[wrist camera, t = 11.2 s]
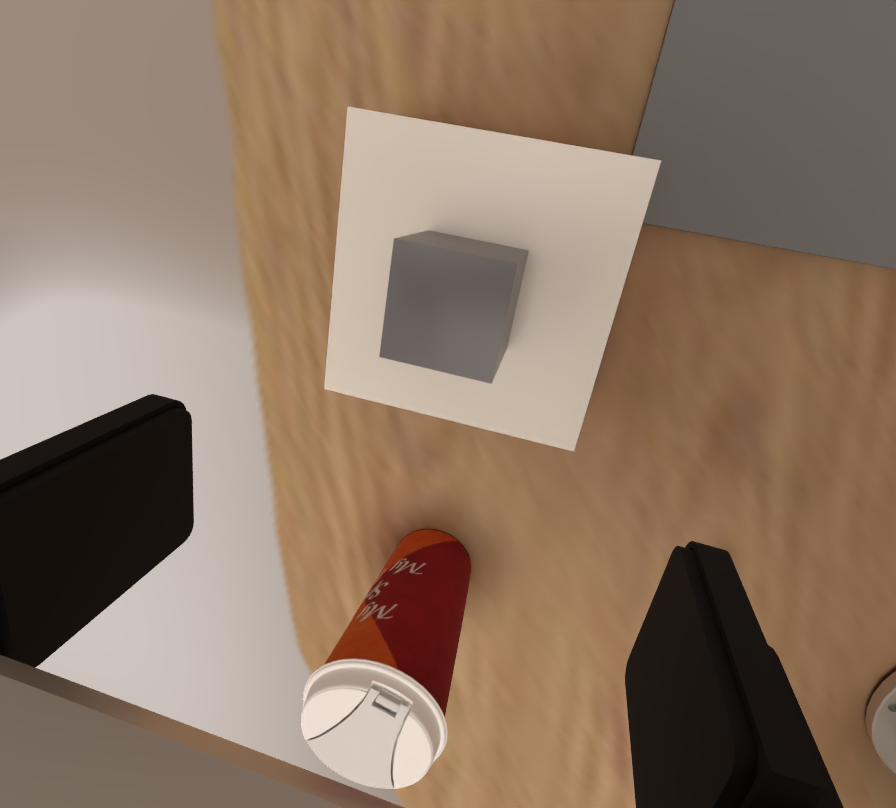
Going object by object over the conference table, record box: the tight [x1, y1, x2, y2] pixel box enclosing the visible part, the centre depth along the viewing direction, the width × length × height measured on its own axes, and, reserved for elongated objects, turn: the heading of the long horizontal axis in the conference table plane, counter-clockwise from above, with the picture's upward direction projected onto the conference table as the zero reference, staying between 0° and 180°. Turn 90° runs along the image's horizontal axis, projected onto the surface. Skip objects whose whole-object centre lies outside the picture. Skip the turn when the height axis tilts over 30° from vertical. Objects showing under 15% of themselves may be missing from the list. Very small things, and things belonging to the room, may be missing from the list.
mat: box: [632, 0, 896, 269], centre depth 23 cm, size 16×16×1 cm
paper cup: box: [301, 529, 471, 789], centre depth 32 cm, size 8×8×14 cm
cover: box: [324, 107, 661, 451], centre depth 22 cm, size 13×13×6 cm
